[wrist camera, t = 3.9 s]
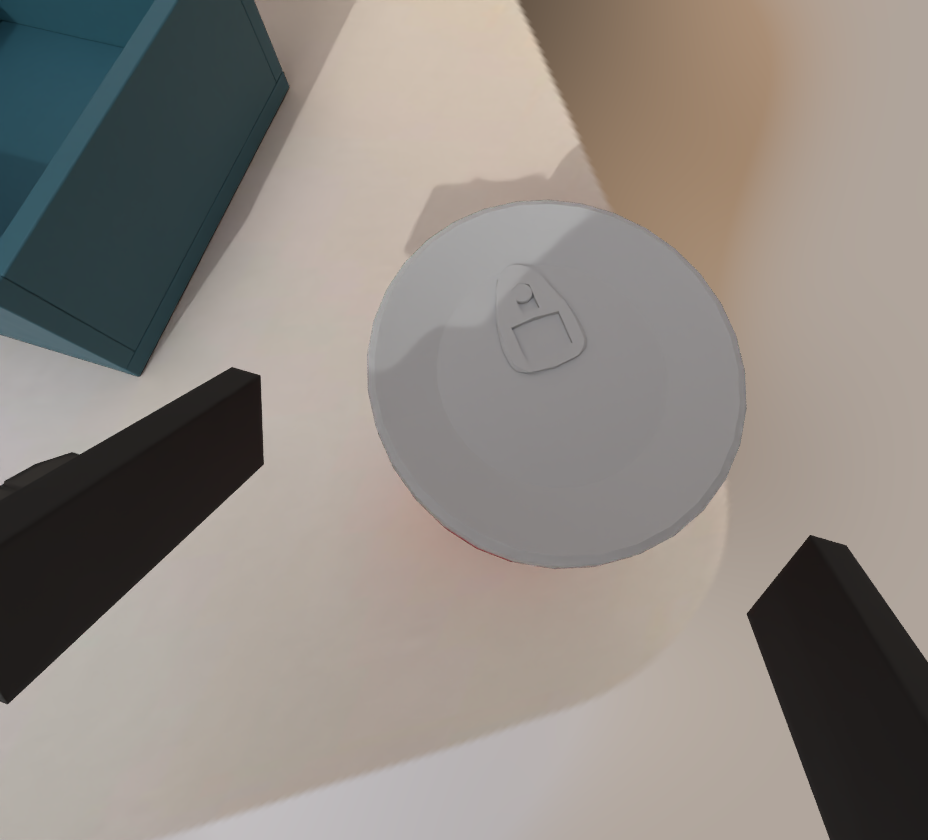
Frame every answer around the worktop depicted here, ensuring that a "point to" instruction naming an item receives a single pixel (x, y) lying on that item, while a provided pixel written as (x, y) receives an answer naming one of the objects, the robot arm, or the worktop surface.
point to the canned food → (556, 384)
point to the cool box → (120, 161)
